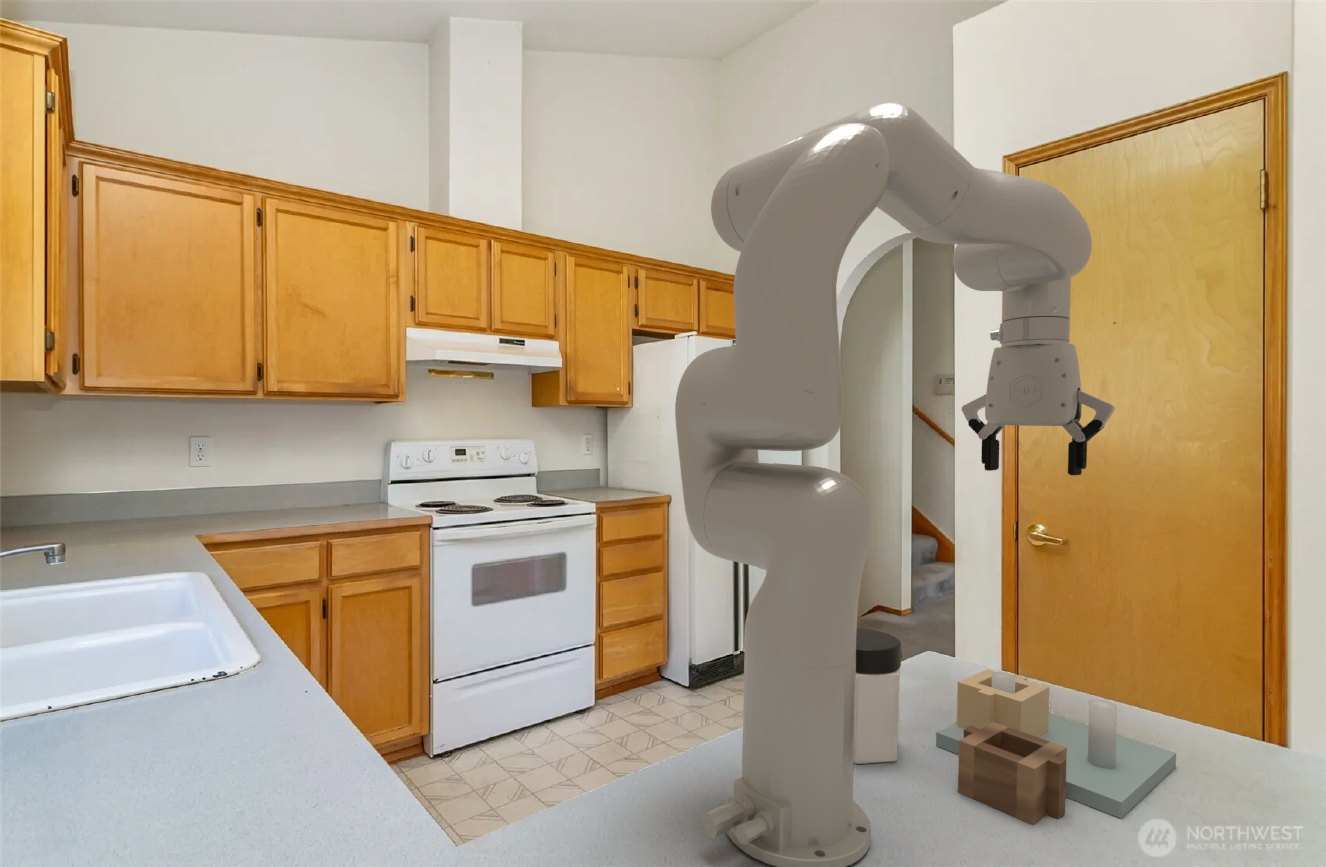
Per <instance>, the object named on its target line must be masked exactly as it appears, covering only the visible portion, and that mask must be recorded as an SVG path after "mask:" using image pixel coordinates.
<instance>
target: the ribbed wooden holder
mask: <svg viewBox="0 0 1326 867" xmlns="http://www.w3.org/2000/svg"><path fill="white" fill-rule="evenodd" d="M1066 761H1067V747H1065V746H1062V745H1059V744H1056V743H1053V742H1050V741H1047V740H1044V739H1041V738H1038V737H1035V736H1032V735H1030V734H1027V733H1024V732H1021V731H1018V730H1015V729H1012V728H1009V727H1006V726H1003V725H1000V724H997V723H995V722H993V723H991V724H989V725H987V726H985V727H984V728H982V729H978V728H976V727H973V726H969V727H967V728H965V729H964V738H963V739H961V740H959V755H958V770H957V771H958V773H957V774H958V775H957V777H958V778H957V792H958V793H960V794H962V795H964V796H967V797H969V798H971V799H973V800H976V801H978V802H980V803H983V804H985V805H987V806H989V807H992V808H993V809H996V810H999V811H1001V812H1003V813H1005V814H1008V815H1010V816H1012V817H1015V818H1017V819H1019V820H1021V821H1024V822H1025V823H1028V824H1031V825H1033V826H1034V825H1036V823H1037V822H1039V821H1040V820H1042V818H1044V817H1045V816H1046V815H1047V816H1050V817H1052V818H1055V819H1058V820H1059V819H1061V818H1062V817H1063V816H1064V815H1065V814H1066V798H1067V797H1066Z"/></svg>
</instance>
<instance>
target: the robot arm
mask: <svg viewBox="0 0 1326 867" xmlns="http://www.w3.org/2000/svg"><path fill="white" fill-rule="evenodd" d="M876 208H878V209H879V210H881V212H883V213H885V214H886V215H887V216H889V217H890V218H892V219H893V220H895V221H896V222H897V223H898V224H900V225H901V226H902V227H904V228H905V229H906V230H908V231H909V232H910V233H911V234H913V235H914V236H915V237H917V238H918V239H921V240H923V241H925V242H929V243H934V244H935V243H936V244H947V245H956V246H955V247H954V251H953V255H952V268H953V271H954V273H955V275H956V277H957V279H958V280H959V281H960V282H961V283H962V284H963V285H964V286H966V287H968V288H970V289H972V290H975V291H979V292H1002V304H1001V305H1002V306H1001V307H1002V311H1001V322H1002V323H999V324H1000V325H999V328H997V329H991V331H990V335H989V336H990V340H991V341H997V342H999V344H1000V345H1001V346H999V347H994V349H993V352H992V356H991V359H990V366H989V371H988V378H987V386H986V392H985V394H983V395H982V396H980V397H977V398H975V399H973V400H971V401H970V402H968V403H966V404H964V405H962V406H961V411H962V413H963V415H964V417H965V418H964V419H965V420H966V421H967V423H968V424H967V425H968V426H969V428H970V429H971V430H973V432H974V433H976V434H977V436H978V438H979V439H980V440H981V456H980V457H981V459H980V460H981V464H984V466H983V467H984V471H988V472H990V471H997V470H999V468H1000V467H999V466H1000V440H999V439H997V435H998V434H999V433H1000V432H1001V431H1002V430H1003V429H1004V428H1005V427H1006V426H1022V427H1024V426H1027V427H1028V426H1029V427H1031V426H1032V427H1033V426H1035V427H1040V426H1042V427H1045V426H1046V427H1062V428H1063V429H1064V430H1065V431H1066V432H1067V433H1068V434H1069V436H1071V441H1069V442H1068V446H1067V447H1068V451H1067V452H1068V453H1067V474H1068V475H1069V476H1081V475H1082V473H1083V472H1082V470H1085V469H1086V468H1087V459H1088V457H1087V456H1088V442H1090V441H1091V439H1092V438H1094V436H1096V435H1097V434H1098V433H1099V432H1100V431H1102V430H1103V429H1104V428H1105V427H1106V424H1107V422H1108V421H1109V419H1110V418H1111V416H1112V414H1113V413H1114V412H1115V409H1116V408H1115V405H1113V404H1111V403H1109V402H1107V401H1104V400H1102V399H1099V398H1097V397H1095V396H1092V395H1091V394H1089V393H1086V392H1084V391H1082V384H1081V372H1080V365H1079V359H1078V353H1077V349H1076V345H1075V344H1073V343H1070V338H1071V337H1070V336H1071V335H1070V332H1071V331H1070V330H1071V296H1072V295H1071V294H1072V291H1071V290H1072V278H1073V277H1075V276H1076V275H1078V274H1079V273H1080V272H1082V270H1084V268H1086V265H1087V264H1088V262H1089V260H1090V257H1091V253H1092V251H1093V249H1092V247H1093V244H1092V243H1093V241H1092V235H1091V231H1090V228H1089V226H1088V223H1087V221H1086V219H1085V218H1084V217H1083V215H1082V213H1081V212H1080V210H1079V209H1078V208H1077V206H1075V205H1074V204H1073V202H1072V201H1070V200H1069V198H1068V197H1067V196H1066V195H1065V193H1063V192H1062V191H1060V190H1059V189H1058V188H1056V187H1054V186H1052V185H1050V184H1048V183H1046V182H1043V181H1040V180H1036V179H1032V178H1028V177H1024V176H1020V175H1015V174H1010V173H1007V172H1002V171H996V170H992V169H985V168H978V167H975V166H974V165H973V164H971V163H970V162H969V161H968V159H966V158H965V156H963V155H962V153H960V151H958V150H957V149H956V148H955V147H954V146H953V145H951V144H950V143H949V141H947V139H945V138H944V137H943V136H942V135H941V134H940V133H939V132H938V131H937V130H936V129H935V128H934V127H933V126H931V125H930V124H929V122H927V121H926V119H924V118H923V117H922V116H921V115H920V114H919V113H918V112H916V111H915V110H914V109H913V108H911V107H909V106H907V105H905V104H902V103H898V102H883V103H880V104H874V105H872V106H869V107H866V108H863V109H861V110H857V111H855V112H853V113H851V114H848V115H846V116H844V117H842V118H839V119H837V120H834V121H832V122H829V123H826V124H824V125H822V126H819V127H816V128H813V129H811V130H810V131H808V132H806V133H805V132H804V134H801V135H800V136H797V137H796V138H794V139H792V140H790V141H788V142H785V143H784V144H782V145H780V146H778V147H776V148H773V149H772V150H770V151H767V152H764V153H762V154H760V155H758V156H756V157H753V158H751V159H748V160H746V161H743V162H741V163H739V164H737V165H734V166H732V167H731V168H729V169H728V170H726V171H725V173H723V174H722V175H721V177H720V179H719V180H718V181H717V183H716V184H715V187H714V190H713V192H712V197H711V203H710V214H711V219H712V223H713V226H714V228H715V231H716V233H717V235H718V236H719V237H720V238H721V240H722V241H723V242H724V243H725V244H726V245H727V246H729V247H730V248H732V249H733V250H735V251H737V252H740V254H739V257H738V260H737V263H736V267H735V272H734V273H735V274H734V281H733V306H734V307H733V308H734V335H735V336H734V337H735V344H734V345H731V346H724V347H723V346H721V347H716V348H713V349H710V350H706V351H704V352H702V353H701V354H699V355H697V356H696V357H695V358H694V359H693V360H692V361H691V362H690V363H689V364H688V365H687V367H686V368H685V370H684V372H683V374H682V376H681V378H680V381H679V383H678V387H677V392H676V397H675V402H674V403H675V404H674V406H675V409H674V411H675V412H674V416H675V417H674V418H675V428H676V429H675V431H676V440H677V449H678V458H679V468H680V476H681V477H680V478H681V486H682V494H683V495H682V496H683V502H684V503H683V505H684V509H685V510H684V511H685V515H686V520H687V523H688V527H689V530H690V532H691V535H692V537H693V538H694V540H695V541H696V542H697V544H698V546H700V548H702V549H703V550H704V551H705V552H707V553H709V554H710V555H712V556H715V557H716V558H720V559H723V560H726V561H732V562H736V563H740V564H744V565H749V566H751V567H757V568H759V569H761V570H765V571H766V572H765V577H764V579H763V581H762V584H761V585H760V587H759V589H758V590H757V592H756V594H755V596H754V597H753V599H752V601H751V603H750V605H749V607H748V609H747V610H748V611H747V613H746V614H747V615H746V618H745V623H744V639H743V640H744V642H743V644H744V645H743V648H744V657H743V658H744V660H743V661H744V662H743V664H744V666H743V703H742V706H743V712H742V751H741V752H742V755H741V756H742V758H741V759H742V760H741V763H742V764H741V777H739V778H737V779H735V780H734V781H733V792H732V793H731V794H730V795H729V796H728V798H727V799H726V800H725V803H724V805H720V806H717V807H715V808H712V809H710V810H709V811H707V812H704V813H702V815H701V816H700V825H701V829H702V832H704V835H705V836H706V837H707V838H708V839H710V840H711V839H712V840H713V839H715V838H717V837H719V836H722V835H725V833H726V835H727V836H728V838H729V839H730V840H731V841H732V843H733V844H735V845H736V847H737V848H739V849H740V850H741V851H742V852H743V853H744V854H747V855H749V856H750V857H752V858H754V859H756V860H757V861H760V862H762V863H765V864H767V865H771V866H773V867H848V866H852V865H854V863H856V862H857V861H859V860H861V859H862V858H863V857H864V856H865V854H866V853H867V852H868V850H869V849H870V846H871V841H872V840H871V839H872V826H871V822H870V819H869V818H868V815H867V813H866V812H865V811H864V810H863V809H862V808H861V806H860V805H859V804H857V803H856V802H855V801H854V800H853V798H854V767H855V766H854V764H855V763H854V725H855V683H856V633H857V628H858V611H859V610H858V609H859V601H860V600H859V599H860V593H861V592H860V590H861V584H862V578H863V572H864V568H865V563H866V559H867V554H868V550H869V546H870V542H871V536H872V527H873V514H872V509H871V506H870V501H869V499H868V497H867V495H866V494H865V491H864V490H863V489H862V487H860V486H859V484H858V483H857V482H855V481H854V480H853V479H852V478H850V477H848V476H847V475H845V474H844V473H841V472H839V471H836V470H833V469H830V468H825V467H822V466H815V465H801V464H787V463H776V462H775V463H773V462H772V463H768V462H767V463H766V462H759V461H760V458H759V451H772V452H773V451H774V452H797V451H810V450H814V449H818V448H821V447H822V448H823V447H824V446H825V445H827V444H828V443H830V442H832V440H834V438H835V437H836V435H837V434H838V432H839V431H840V427H841V425H842V422H843V415H844V413H843V412H844V391H843V390H844V389H843V375H842V372H843V371H842V362H841V346H840V334H839V332H840V331H839V324H838V323H839V320H838V307H837V306H838V304H837V284H838V274H839V270H840V266H841V264H842V260H843V257H844V255H845V252H846V250H847V248H848V246H849V245H850V242H851V241H852V239H853V238H854V237H855V234H856V233H857V231H858V230H859V229H860V228H861V226H862V225H863V224H864V222H865V221H866V220H867V219H868V218H869V216H871V214H873V212H874V211H875V209H876ZM1083 405H1084V406H1086V407H1089V408H1090V409H1092V410H1094V411H1095V415H1094V417H1093V419H1092V420H1091V421H1089V422H1088V423H1087V424H1086V425H1085V426H1084V425H1082V424H1081V422H1080V420H1081V417H1082V412H1083V411H1082V407H1083ZM982 409H984V415H985V417H984V418H985V419H986V424H985V423H984V422H983V421H982V420H981V419H980V417H979V414H978V412H979V410H982Z"/></svg>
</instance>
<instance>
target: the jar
mask: <svg viewBox="0 0 1326 867" xmlns="http://www.w3.org/2000/svg"><path fill="white" fill-rule="evenodd" d="M902 653H903V652H902V642H901V640H900V639H898V638H897V637H896V636H894V635H892V634H890V633H887V632H883V631H878V630H874V629H869V628H862V627H861V628H858V627H857V633H856V683H855V725H854V764H856V765H861V764H877V763H878V764H879V763H891V762H896V761H897V760H898V751H899V735H900V734H899V732H900V731H899V730H900V729H899V727H900V725H899V724H900V720H899V719H900V694H901V693H900V690H901V688H900V686H901V685H900V684H901V667H902V658H903V656H902V655H903V654H902Z"/></svg>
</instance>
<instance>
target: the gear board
mask: <svg viewBox="0 0 1326 867" xmlns="http://www.w3.org/2000/svg"><path fill="white" fill-rule="evenodd" d="M956 697H957V698H956V722H953V723H951V724H950V725H949V726H946V727H944V728H942V729H940V730H938V731H936V732H935V733H936V734H935V735H936V736H935V738H936V739H935V741H936V742H935V746H936V747H938V748H941V749H943V750H946V751H949V752H951V753H954V754H956V755H958V756H959V740H961V739H963V738H964V729H965V728H967V727H969V726H973V727H976V728H978V729H982V728H984V727H985V726H987V725H989V724H991V723H993V722H995V723H997V724H1000V725H1003V726H1006V727H1009V728H1012V729H1015V730H1018V731H1021V732H1024V733H1027V734H1030V735H1032V736H1035V737H1038V738H1041V739H1044V740H1047V741H1050V742H1053V743H1056V744H1059V745H1062V746H1065V747H1067V761H1066V798H1068V799H1070V800H1073V801H1075V802H1078V803H1081V804H1082V805H1086V806H1088V807H1091V808H1092V809H1095V810H1099V811H1100V812H1103V813H1106V814H1108V815H1111V816H1113V817H1115V818H1118V819H1121V820H1122V819H1123V818H1124V817H1125V816H1126V815H1127V814H1128V813H1129V812H1130V811H1131V810H1133V808H1134V807H1135V806H1136V805H1137V804H1139V802H1141V801H1142V800H1143V799H1144V798H1145V797H1146V796H1147V795H1149V793H1150V792H1151V791H1152V790H1153V789H1154V788H1155V787H1156V786H1157V785H1158V784H1159V783H1161V782H1162V781H1163V780H1164V779H1165V778H1166V777H1167V776H1168V775H1169V774H1170V773H1171V772H1172V771H1173V770H1174V769H1175V768H1176V766H1177V765H1176V764H1177V752H1174V751H1171V750H1169V749H1166V748H1161V747H1158V746H1155V745H1153V744H1150V743H1149V744H1148V743H1146V742H1142V741H1140V740H1136V739H1133V738H1130V737H1127V736H1123V735H1120V734H1118V733H1117V727H1118V726H1117V724H1118V723H1117V722H1118V721H1117V720H1118V719H1117V718H1118V706H1117V705H1116V704H1114V703H1113V702H1111V701H1110V702H1109V701H1108V700H1103V699H1090V700H1088V704H1089V705H1088V724H1085V723H1081V722H1079V721H1076V720H1072V719H1069V718H1065V717H1063V716H1060V715H1057V714H1054V713H1050V712H1049V711H1050V686H1047V685H1043V684H1040V683H1037V682H1033V681H1030V680H1028V677H1026V676H1022V675H1019V674H1011V673H1008V672H1004V671H1003V672H1002V671H995V670H991V669H985V670H983V671H980V672H977V673H975V674H973V675H971V676H968V677H966V678H964V679H961V680H959V681H957V696H956Z"/></svg>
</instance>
